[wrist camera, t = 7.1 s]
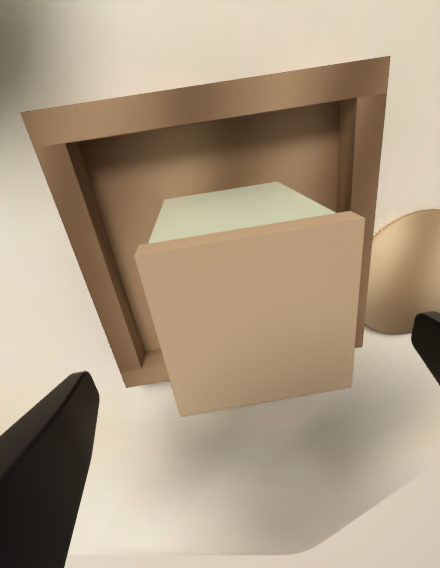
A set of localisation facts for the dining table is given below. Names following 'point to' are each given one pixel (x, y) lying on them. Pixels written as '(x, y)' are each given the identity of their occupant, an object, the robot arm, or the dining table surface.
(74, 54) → the dining table surface
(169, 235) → the sage canister
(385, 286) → the cork coaster
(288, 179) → the walnut tray
